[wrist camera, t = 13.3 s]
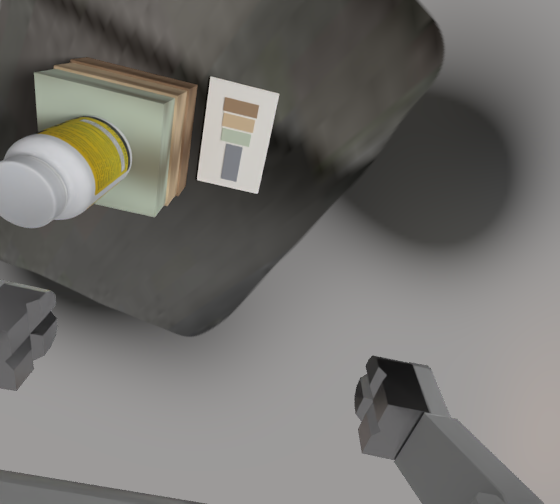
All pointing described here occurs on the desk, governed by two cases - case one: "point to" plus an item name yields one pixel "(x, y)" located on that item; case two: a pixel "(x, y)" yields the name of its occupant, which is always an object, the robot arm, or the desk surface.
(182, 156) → the brick tower
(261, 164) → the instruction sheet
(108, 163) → the supplement bottle
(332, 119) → the desk surface
